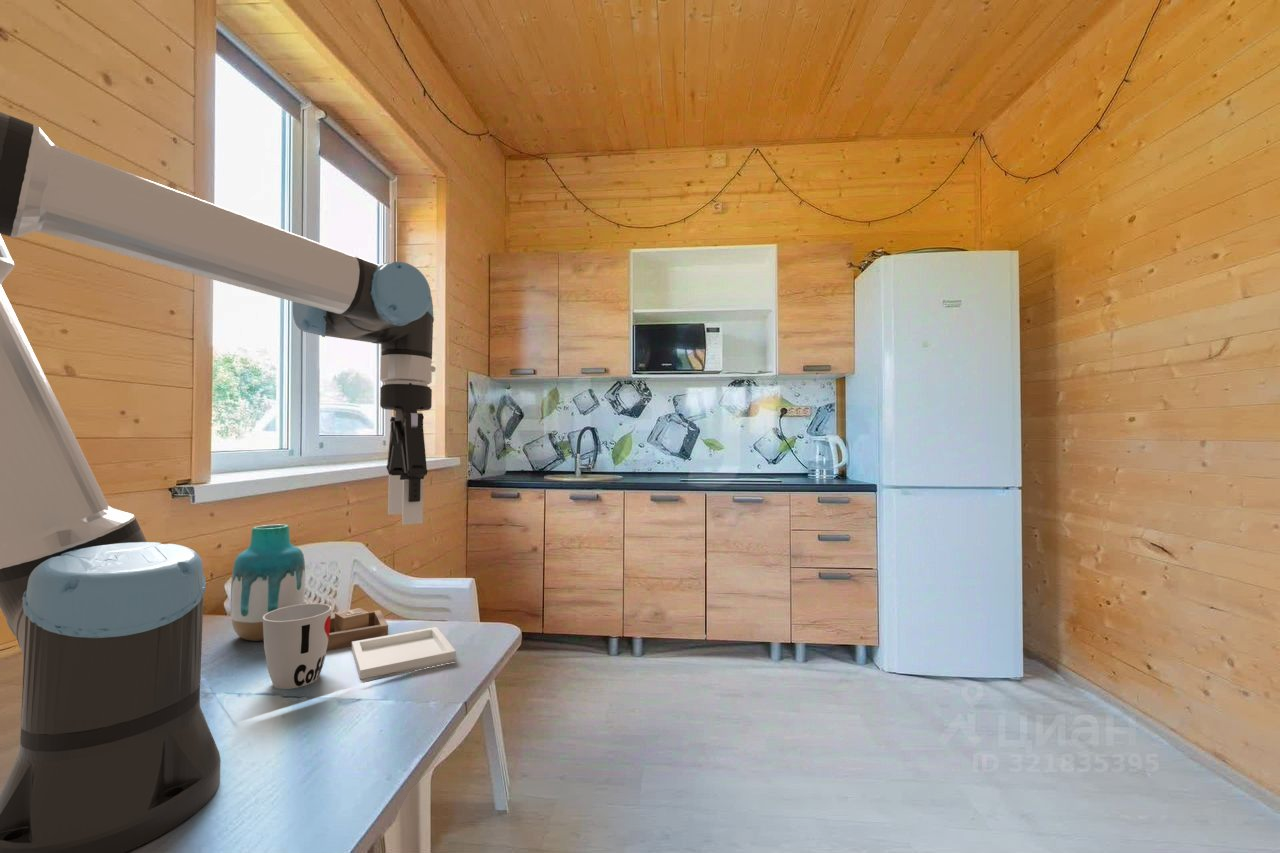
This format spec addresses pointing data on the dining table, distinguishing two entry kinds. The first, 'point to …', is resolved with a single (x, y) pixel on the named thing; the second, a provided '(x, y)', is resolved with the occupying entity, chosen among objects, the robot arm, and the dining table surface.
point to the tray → (401, 653)
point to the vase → (265, 579)
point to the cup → (296, 643)
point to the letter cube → (351, 619)
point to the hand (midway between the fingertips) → (404, 518)
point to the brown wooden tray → (357, 632)
